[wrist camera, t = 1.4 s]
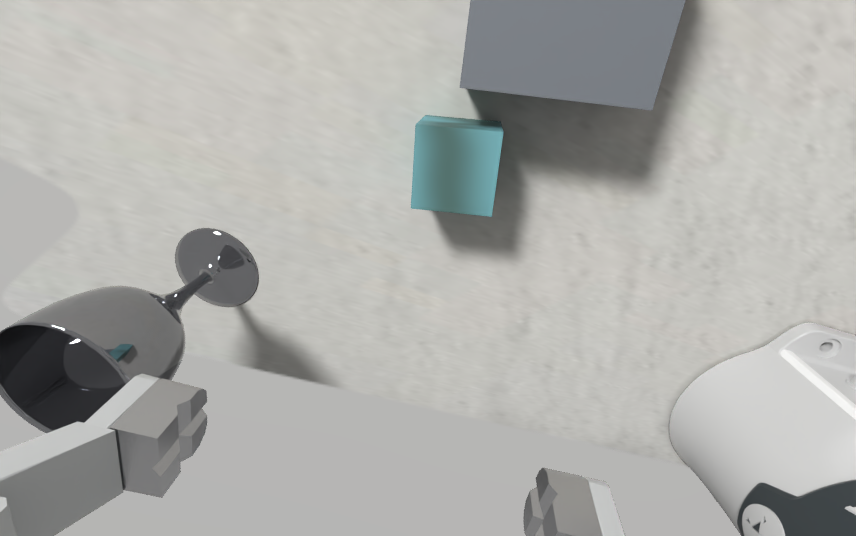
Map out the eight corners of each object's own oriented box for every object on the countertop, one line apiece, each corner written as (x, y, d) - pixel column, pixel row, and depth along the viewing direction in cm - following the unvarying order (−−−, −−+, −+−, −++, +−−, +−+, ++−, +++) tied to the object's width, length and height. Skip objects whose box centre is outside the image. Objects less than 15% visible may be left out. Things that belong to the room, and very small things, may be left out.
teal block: (500, 121, 29) (503, 132, 25) (490, 194, 32) (491, 216, 27) (426, 115, 30) (415, 124, 25) (421, 187, 32) (410, 208, 27)
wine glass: (252, 223, 35) (104, 326, 21) (271, 312, 38) (153, 450, 24) (158, 223, 35) (-42, 321, 22) (184, 309, 39) (24, 441, 25)
